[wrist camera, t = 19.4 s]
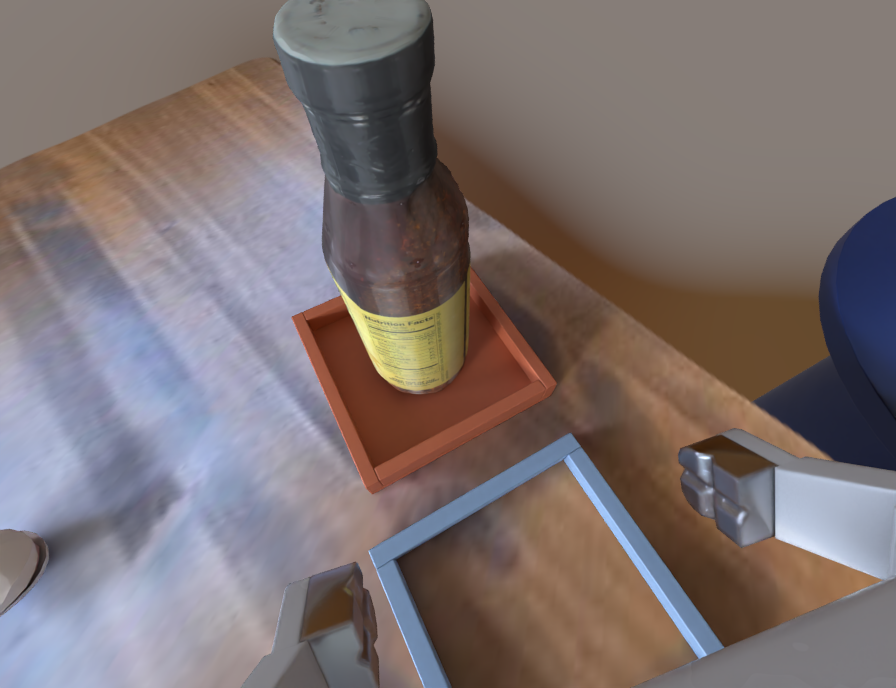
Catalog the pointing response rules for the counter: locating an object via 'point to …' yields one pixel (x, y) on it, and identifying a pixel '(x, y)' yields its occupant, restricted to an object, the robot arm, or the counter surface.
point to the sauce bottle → (384, 181)
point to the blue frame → (490, 491)
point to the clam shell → (20, 565)
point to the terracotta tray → (420, 415)
